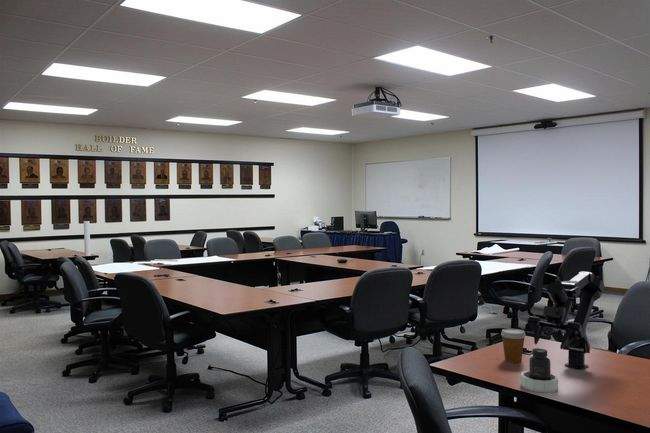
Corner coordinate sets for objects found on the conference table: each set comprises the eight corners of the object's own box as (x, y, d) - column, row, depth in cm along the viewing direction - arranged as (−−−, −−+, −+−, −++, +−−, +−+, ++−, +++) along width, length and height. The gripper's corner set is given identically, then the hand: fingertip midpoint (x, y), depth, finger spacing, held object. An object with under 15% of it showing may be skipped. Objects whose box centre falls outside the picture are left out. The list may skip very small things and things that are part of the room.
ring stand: (533, 378, 193) (533, 368, 193) (565, 387, 183) (565, 376, 183) (513, 385, 186) (513, 374, 186) (546, 395, 176) (546, 383, 176)
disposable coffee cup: (495, 358, 219) (495, 329, 219) (514, 356, 222) (514, 327, 222) (511, 364, 210) (511, 334, 210) (530, 362, 214) (530, 332, 213)
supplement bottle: (555, 385, 183) (555, 350, 183) (541, 388, 180) (541, 353, 180) (538, 380, 189) (538, 346, 189) (525, 383, 186) (525, 348, 186)
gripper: (529, 294, 199) (515, 328, 192) (580, 300, 186) (568, 337, 178) (538, 312, 205) (525, 346, 197) (589, 319, 191) (577, 356, 184)
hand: (547, 346), depth 189 cm, fingers open, 9 cm apart
